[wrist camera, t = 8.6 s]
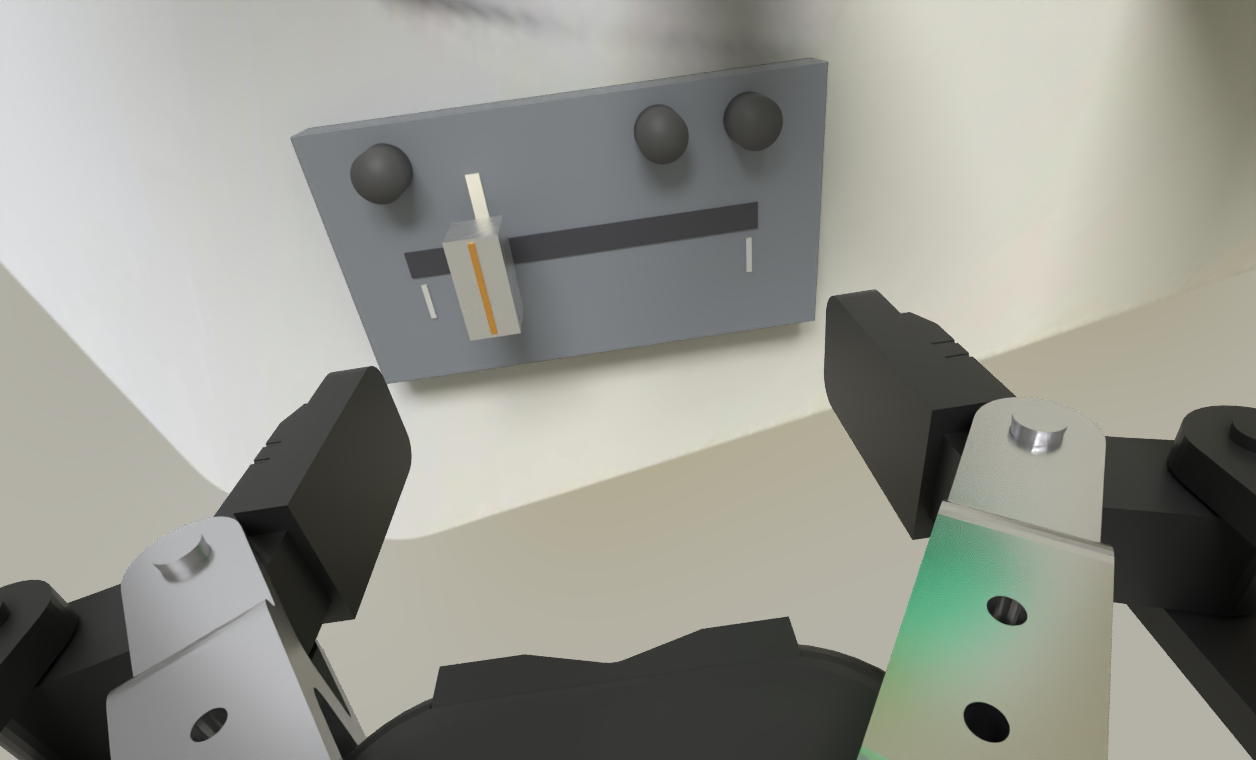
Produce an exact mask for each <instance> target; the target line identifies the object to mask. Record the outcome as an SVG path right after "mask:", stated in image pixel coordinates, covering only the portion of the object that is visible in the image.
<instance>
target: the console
mask: <svg viewBox="0 0 1256 760" xmlns="http://www.w3.org/2000/svg"><path fill="white" fill-rule="evenodd" d="M827 74H828V62H826V61H821V60H817V59H813V58H806V59H799V60H792V61H785V62H778V63H771V64H764V65H757V66H749V67H742V68H735V69H728V70H721V71H714V72H707V73H700V74H692V75H685V76H678V77H671V78H664V79H657V80H650V81H643V82H635V83H628V84H621V85H614V86H607V87H600V88H593V89H586V90H579V91H571V92H564V93H557V94H550V95H543V96H536V97H529V98H522V99H514V100H507V101H500V102H493V103H486V104H479V105H472V106H465V107H457V108H450V109H443V110H436V111H429V112H422V113H415V114H408V115H401V116H393V117H386V118H379V119H372V120H365V121H358V122H351V123H344V124H336V125H329V126H322V127H315V128H308V129H306V130H304V131H302V132H300V133H298V134H296V135H294V136H292V137H291V138H290V139H291V142H292V144H293V147H294V149H295V152H296V154H297V157H298V159H299V162H300V165H301V167H302V170H303V172H304V175H305V177H306V180H307V183H308V185H309V188H310V190H311V193H312V195H313V198H314V201H315V203H316V206H317V208H318V211H319V213H320V216H321V219H322V221H323V224H324V226H325V229H326V231H327V234H328V237H329V239H330V242H331V244H332V247H333V249H334V252H335V255H336V257H337V260H338V262H339V265H340V267H341V270H342V273H343V275H344V278H345V280H346V283H347V285H348V288H349V291H350V293H351V296H352V298H353V301H354V303H355V306H356V309H357V311H358V314H359V316H360V319H361V321H362V324H363V327H364V329H365V332H366V334H367V337H368V339H369V342H370V345H371V347H372V350H373V352H374V355H375V357H376V360H377V363H378V365H379V368H380V370H381V373H382V375H383V377H384V379H385V382H386V384H390V383H396V382H403V381H410V380H417V379H423V378H430V377H437V376H444V375H450V374H457V373H464V372H471V371H477V370H484V369H491V368H497V367H504V366H511V365H518V364H524V363H531V362H538V361H545V360H551V359H558V358H565V357H572V356H578V355H585V354H592V353H598V352H605V351H612V350H619V349H625V348H632V347H639V346H646V345H652V344H659V343H666V342H673V341H679V340H686V339H693V338H699V337H706V336H713V335H720V334H726V333H733V332H740V331H747V330H753V329H760V328H767V327H774V326H780V325H787V324H794V323H800V322H807V321H814V320H815V305H816V286H817V267H818V248H819V228H820V209H821V190H822V170H823V151H824V132H825V113H826V93H827ZM501 215H503V218H504V223H505V227H506V231H507V236H508V240H509V245H510V249H511V253H512V258H513V262H514V266H515V271H516V275H517V280H518V284H519V288H520V293H521V297H522V302H523V306H524V310H523V319H522V327H521V333H519V334H513V335H506V336H499V337H492V338H486V339H479V340H472V341H470V338H469V335H468V331H467V328H466V324H465V321H464V317H463V314H462V311H461V307H460V304H459V300H458V297H457V293H456V290H455V286H454V283H453V279H452V276H451V272H450V269H449V266H448V262H447V259H446V255H445V252H444V248H443V245H442V242H443V240H444V238H445V236H446V234H447V232H448V230H449V228H450V226H451V224H452V222H459V221H466V220H473V219H480V218H487V217H494V216H501Z"/></svg>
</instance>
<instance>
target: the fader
mask: <svg viewBox="0 0 1256 760" xmlns="http://www.w3.org/2000/svg"><path fill="white" fill-rule="evenodd" d="M442 245H443V248H444V252H445V255H446V259H447V262H448V266H449V269H450V272H451V276H452V279H453V283H454V286H455V290H456V293H457V297H458V300H459V304H460V307H461V311H462V314H463V317H464V321H465V324H466V328H467V331H468V335H469V338H470V341H472V340H479V339H486V338H492V337H499V336H506V335H513V334H519V333H521V327H522V319H523V310H524V306H523V302H522V297H521V293H520V288H519V284H518V280H517V275H516V271H515V266H514V262H513V258H512V253H511V249H510V245H509V240H508V236H507V231H506V227H505V223H504V218H503V215H501V216H494V217H487V218H480V219H473V220H466V221H459V222H452V224H451V226H450V228H449V230H448V232H447V234H446V236H445V238H444V240H443V242H442Z"/></svg>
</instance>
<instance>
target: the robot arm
mask: <svg viewBox="0 0 1256 760" xmlns="http://www.w3.org/2000/svg"><path fill="white" fill-rule="evenodd" d="M824 381H825V388H826V393H827V396H828V400H829V402H830V405H831V407H832V408H833V410H834V412H835V413H836V415H837V416H838V418H839V420H840V422H841V423H842V425H843V427H844V428H845V430H846V431H847V433H848V435H849V436H850V438H851V439H852V441H853V443H854V445H855V446H856V448H857V450H858V451H859V453H860V454H861V456H862V457H863V459H864V461H865V463H866V464H867V466H868V468H869V469H870V471H871V472H872V474H873V476H874V477H875V479H876V481H877V482H878V484H879V486H880V487H881V489H882V490H883V492H884V494H885V495H886V497H887V499H888V500H889V502H890V503H891V505H892V507H893V509H894V510H895V512H896V513H897V515H898V517H899V518H900V520H901V522H902V523H903V525H904V527H905V528H906V530H907V532H908V533H909V535H910V537H911V538H912V540H915V539H922V538H929V537H930V539H929V542H928V545H927V548H926V551H925V554H924V557H923V560H922V563H921V566H920V570H919V572H918V576H917V579H916V582H915V585H914V588H913V591H912V594H911V597H910V600H909V603H908V606H907V609H906V612H905V615H904V618H903V621H902V624H901V627H900V630H899V634H898V637H897V640H896V643H895V646H894V649H893V652H892V655H891V658H890V661H889V664H888V667H887V670H886V672H885V671H883V670H881V669H880V668H878V667H875V666H873V665H871V664H869V663H866V662H864V661H862V660H860V659H857V658H855V657H852V656H848V655H846V654H842V653H840V652H836V651H833V650H828V649H823V648H819V647H814V646H808V645H799V644H798V643H797V640H796V637H795V634H794V631H793V628H792V626H791V622H790V619H789V617H782V618H776V619H768V620H762V621H754V622H747V623H740V624H734V625H727V626H720V627H713V628H706V629H701V630H698V631H696V632H693V633H691V634H688V635H686V636H683V637H681V638H678V639H676V640H674V641H671V642H668V643H666V644H663V645H661V646H658V647H656V648H653V649H651V650H648V651H646V652H643V653H641V654H638V655H635V656H633V657H630V658H628V659H625V660H623V661H619V662H614V663H600V662H591V661H582V660H572V659H563V658H553V657H543V656H533V655H518V656H511V657H504V658H497V659H490V660H483V661H477V662H469V663H462V664H455V665H448V666H441V667H440V669H439V673H438V677H437V682H436V687H435V691H434V696H433V698H432V699H429V700H427V701H424V702H422V703H420V704H418V705H416V706H415V707H412V708H411V709H409V710H407V711H405V712H403V713H401V714H400V715H398V716H397V717H395V718H394V719H392V720H391V721H389V722H388V723H386V724H384V725H383V726H382V727H380V728H379V729H378V730H376V732H374V733H373V734H371V735H370V736H369V737H367V738H366V736H365V734H364V732H363V730H362V728H361V726H360V724H359V722H358V720H357V718H356V716H355V714H354V712H353V709H352V708H351V705H350V703H349V701H348V699H347V697H346V695H345V693H344V691H343V689H342V687H341V685H340V683H339V681H338V679H337V677H336V675H335V672H334V671H333V668H332V667H331V664H330V662H329V660H328V658H327V656H326V654H325V652H324V650H323V649H322V647H321V646H320V644H319V643H318V641H317V640H316V638H317V635H318V633H319V630H320V628H321V626H322V624H325V623H332V622H337V621H344V620H352V619H355V617H356V615H357V612H358V609H359V606H360V604H361V601H362V598H363V596H364V593H365V590H366V587H367V585H368V582H369V579H370V577H371V574H372V571H373V568H374V565H375V563H376V560H377V558H378V555H379V552H380V549H381V546H382V544H383V541H384V539H385V536H386V533H387V530H388V528H389V525H390V522H391V520H392V517H393V514H394V511H395V509H396V506H397V503H398V500H399V498H400V495H401V492H402V490H403V487H404V484H405V481H406V479H407V476H408V473H409V470H410V467H411V446H410V441H409V437H408V435H407V432H406V430H405V427H404V425H403V422H402V420H401V418H400V415H399V413H398V410H397V408H396V406H395V403H394V401H393V398H392V396H391V394H390V391H389V389H388V386H387V384H386V382H385V379H384V377H383V375H382V374H381V372H380V371H379V370H378V369H377V368H376V367H374V366H370V367H363V368H357V369H350V370H344V371H337V372H331V373H329V374H328V375H327V376H326V377H325V379H324V380H323V382H322V383H321V384H320V386H319V387H318V389H317V390H316V392H315V393H314V395H313V396H312V398H311V399H310V401H309V402H308V404H304V405H302V406H301V407H300V408H299V409H297V410H296V411H295V412H294V413H292V414H291V415H290V416H289V417H287V418H286V419H285V420H284V421H282V422H281V423H280V424H279V426H278V427H277V429H276V430H275V431H274V433H273V434H272V436H271V437H270V438H269V440H268V441H267V443H266V447H263V448H262V450H261V451H260V452H259V454H258V455H257V457H256V458H255V459H254V464H251V465H250V466H249V468H248V469H247V471H246V472H245V473H244V475H243V476H242V478H241V479H240V480H239V482H238V483H237V485H236V486H235V487H234V489H233V490H232V492H231V493H230V494H229V496H228V497H227V499H226V500H225V502H224V503H223V504H222V506H221V507H220V509H219V510H218V511H217V513H216V514H215V515H214V517H210V518H205V519H201V520H198V521H194V522H192V523H189V524H186V525H184V526H182V527H180V528H177V529H175V530H173V531H172V532H170V533H168V534H166V535H165V536H163V537H162V538H160V539H158V540H157V541H155V542H154V543H153V544H151V545H150V546H149V547H147V548H146V549H145V550H144V551H143V552H142V553H141V554H139V556H138V557H137V558H136V559H135V560H134V561H133V562H132V563H131V565H130V566H129V567H128V569H127V570H126V572H125V574H124V576H123V579H122V582H121V584H119V585H116V586H114V587H111V588H108V589H105V590H103V591H100V592H97V593H94V594H92V595H89V596H86V597H83V598H81V599H78V600H75V601H72V602H70V603H67V602H66V601H65V600H64V599H63V598H62V597H61V596H60V595H59V594H58V593H57V592H56V591H55V590H54V589H53V588H52V587H51V586H50V585H49V584H48V583H46V582H45V581H41V580H27V581H21V582H17V583H13V584H10V585H7V586H4V587H1V588H0V746H2V747H3V748H4V749H5V750H7V751H8V752H9V753H11V754H12V755H13V756H14V757H16V758H17V759H18V760H1108V736H1109V708H1110V707H1109V706H1110V678H1111V677H1110V676H1111V649H1112V618H1113V602H1116V603H1123V604H1127V605H1128V607H1129V608H1130V609H1131V610H1132V612H1133V613H1134V614H1135V615H1136V617H1137V618H1138V619H1139V620H1140V621H1141V623H1142V624H1143V625H1144V626H1145V627H1146V629H1147V630H1148V631H1149V632H1150V634H1151V635H1152V636H1153V637H1154V639H1155V640H1156V641H1157V642H1158V643H1159V645H1160V646H1161V647H1162V648H1163V649H1164V651H1165V652H1166V653H1167V655H1168V656H1169V657H1170V658H1171V659H1172V661H1173V662H1174V663H1175V664H1176V666H1177V667H1178V668H1179V669H1180V670H1181V672H1182V673H1183V674H1184V675H1185V677H1186V678H1187V679H1188V680H1189V681H1190V683H1191V684H1192V685H1193V686H1194V687H1195V689H1196V690H1197V691H1198V692H1199V694H1200V695H1201V696H1202V697H1203V699H1204V700H1205V701H1206V702H1207V703H1208V705H1209V706H1210V707H1211V708H1212V710H1213V711H1214V712H1215V713H1216V715H1217V716H1218V717H1219V718H1220V719H1221V721H1222V722H1223V723H1224V724H1225V726H1226V727H1227V728H1228V729H1229V730H1230V732H1231V733H1232V734H1233V735H1234V737H1235V738H1236V739H1237V740H1238V741H1239V743H1240V744H1241V745H1242V746H1243V748H1244V749H1245V750H1246V751H1247V753H1248V754H1249V755H1250V756H1251V757H1252V759H1253V760H1256V409H1255V408H1250V407H1241V406H1210V407H1205V408H1200V409H1197V410H1194V411H1192V412H1191V413H1189V414H1188V415H1187V416H1186V417H1185V418H1184V419H1183V422H1182V424H1181V426H1180V429H1179V431H1178V434H1177V436H1176V438H1175V440H1158V439H1140V438H1123V437H1109V436H1104V433H1103V431H1102V430H1101V428H1099V426H1098V425H1097V424H1096V423H1095V422H1094V421H1093V420H1091V419H1090V418H1089V417H1087V416H1086V415H1084V414H1083V413H1081V412H1079V411H1077V410H1075V409H1073V408H1070V407H1068V406H1065V405H1063V404H1059V403H1056V402H1053V401H1048V400H1044V399H1036V398H1028V397H1016V396H1015V395H1014V394H1013V393H1011V392H1010V390H1008V389H1007V388H1006V387H1005V386H1004V385H1003V384H1002V383H1001V382H1000V381H999V380H997V379H996V378H995V377H994V376H993V375H992V374H991V373H990V372H989V371H988V370H987V369H986V368H984V367H983V366H982V365H981V364H980V363H979V362H978V361H977V360H976V359H975V358H974V357H969V353H968V352H967V351H966V350H965V349H964V348H963V347H962V346H961V345H959V344H958V343H955V342H954V339H953V338H952V337H951V336H950V335H949V334H947V333H946V332H945V331H944V330H943V329H942V328H941V327H940V326H939V325H938V324H936V323H934V322H931V321H929V320H927V319H925V318H922V317H920V316H918V315H915V314H913V313H911V312H908V313H900V312H899V311H898V310H897V309H896V308H895V307H894V306H893V305H892V304H891V303H890V302H889V301H888V300H887V299H886V298H885V297H883V296H882V295H881V294H880V293H879V292H878V291H877V290H868V291H861V292H855V293H848V294H842V295H835V296H831V297H830V298H829V300H828V303H827V308H826V331H825V359H824Z"/></svg>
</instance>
